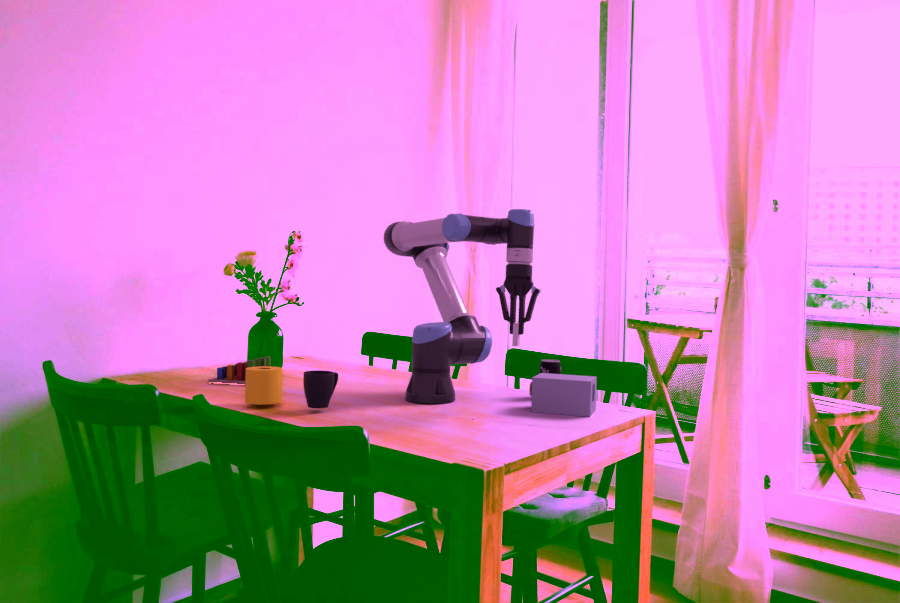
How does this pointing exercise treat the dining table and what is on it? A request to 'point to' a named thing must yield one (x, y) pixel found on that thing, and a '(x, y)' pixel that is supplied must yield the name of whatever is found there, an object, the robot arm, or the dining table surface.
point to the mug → (319, 387)
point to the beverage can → (550, 366)
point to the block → (564, 394)
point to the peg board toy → (238, 371)
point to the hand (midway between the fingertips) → (516, 345)
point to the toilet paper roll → (263, 385)
